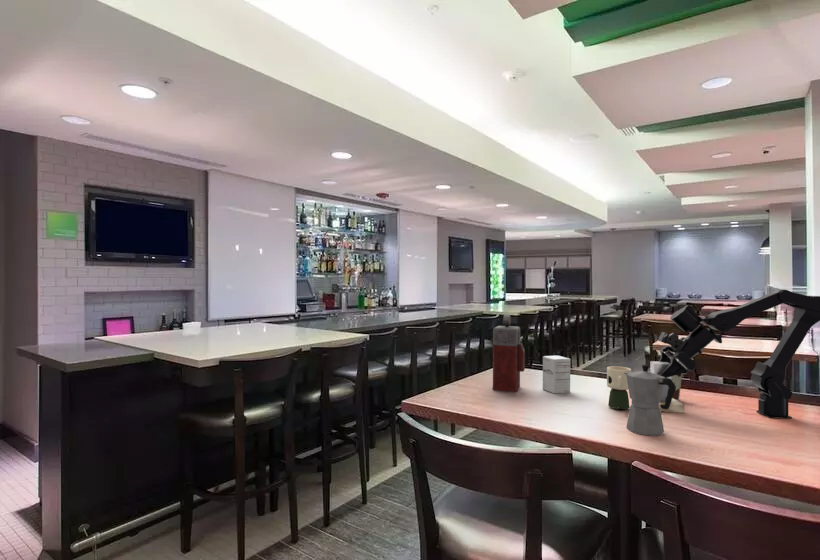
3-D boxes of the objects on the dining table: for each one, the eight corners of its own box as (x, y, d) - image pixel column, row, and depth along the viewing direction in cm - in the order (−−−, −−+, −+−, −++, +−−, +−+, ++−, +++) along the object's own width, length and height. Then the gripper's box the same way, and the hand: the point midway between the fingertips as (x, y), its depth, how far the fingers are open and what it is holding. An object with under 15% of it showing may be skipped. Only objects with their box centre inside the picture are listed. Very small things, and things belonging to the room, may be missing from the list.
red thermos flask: (523, 392, 167) (523, 316, 167) (492, 390, 171) (493, 315, 171) (526, 387, 175) (526, 314, 176) (496, 385, 179) (497, 313, 180)
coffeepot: (612, 425, 129) (613, 361, 129) (636, 421, 133) (637, 359, 133) (662, 443, 115) (662, 371, 115) (687, 438, 119) (687, 369, 119)
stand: (669, 404, 153) (669, 396, 153) (684, 412, 143) (684, 404, 143) (638, 403, 154) (638, 395, 154) (650, 411, 144) (650, 403, 144)
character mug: (606, 403, 153) (606, 364, 154) (629, 405, 151) (629, 366, 151) (607, 411, 143) (607, 370, 143) (632, 414, 141) (633, 372, 141)
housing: (666, 398, 150) (667, 362, 150) (671, 402, 146) (671, 364, 146) (650, 397, 152) (650, 361, 152) (654, 401, 147) (654, 363, 147)
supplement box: (541, 389, 173) (542, 355, 173) (558, 388, 175) (558, 355, 175) (553, 393, 166) (553, 359, 166) (570, 392, 168) (571, 358, 168)
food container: (675, 396, 164) (675, 368, 164) (683, 400, 158) (683, 371, 158) (639, 394, 166) (639, 367, 166) (646, 399, 159) (646, 370, 160)
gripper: (667, 321, 157) (631, 352, 159) (684, 326, 139) (644, 361, 141) (693, 345, 155) (656, 376, 157) (714, 353, 137) (672, 388, 139)
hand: (657, 374), depth 149 cm, fingers open, 9 cm apart
